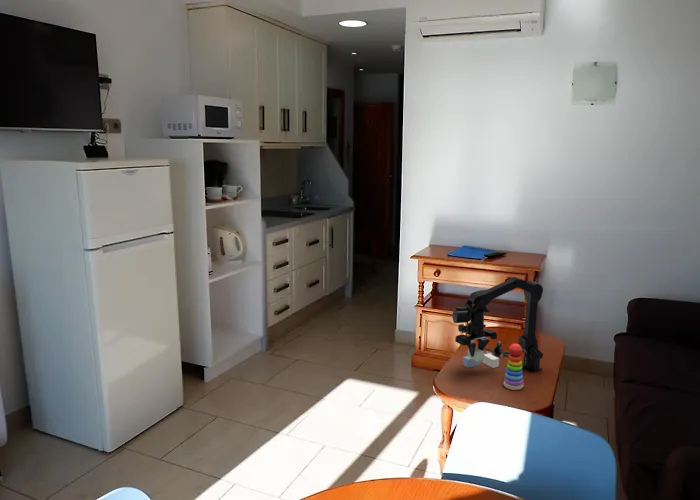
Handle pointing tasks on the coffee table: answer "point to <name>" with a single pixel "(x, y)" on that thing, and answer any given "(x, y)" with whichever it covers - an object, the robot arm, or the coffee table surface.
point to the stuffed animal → (498, 351)
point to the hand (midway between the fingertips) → (475, 355)
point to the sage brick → (477, 355)
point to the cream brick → (491, 360)
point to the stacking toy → (514, 369)
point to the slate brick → (470, 362)
